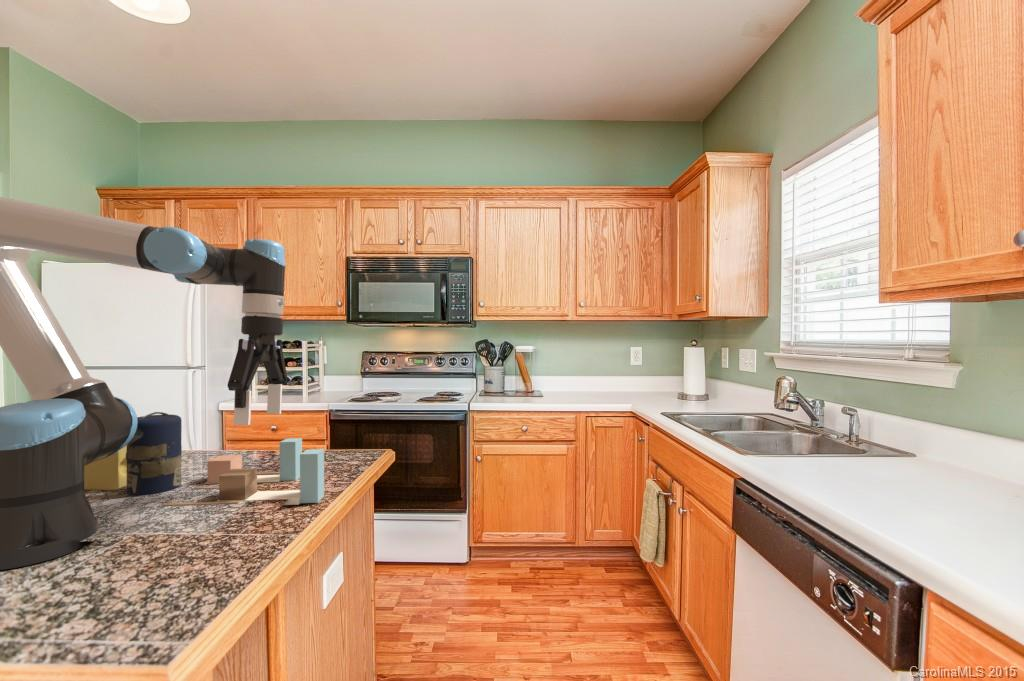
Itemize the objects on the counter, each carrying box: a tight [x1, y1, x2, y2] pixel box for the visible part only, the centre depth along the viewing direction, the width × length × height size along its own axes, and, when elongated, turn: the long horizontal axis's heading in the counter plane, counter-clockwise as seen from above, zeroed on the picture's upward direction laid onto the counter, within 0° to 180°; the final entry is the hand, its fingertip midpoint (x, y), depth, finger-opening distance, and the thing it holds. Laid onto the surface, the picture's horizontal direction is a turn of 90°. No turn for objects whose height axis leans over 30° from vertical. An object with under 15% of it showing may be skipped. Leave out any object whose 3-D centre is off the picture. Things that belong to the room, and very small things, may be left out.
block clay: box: [206, 454, 243, 483], centre depth 106 cm, size 5×5×5 cm
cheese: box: [84, 445, 127, 491], centre depth 108 cm, size 10×11×10 cm
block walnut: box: [218, 467, 258, 501], centre depth 94 cm, size 5×5×5 cm
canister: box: [126, 411, 183, 497], centre depth 100 cm, size 10×10×18 cm
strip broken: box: [204, 437, 303, 485], centre depth 106 cm, size 6×20×10 cm, turn 94°
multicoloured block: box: [216, 448, 325, 506], centre depth 95 cm, size 6×20×10 cm, turn 94°
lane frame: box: [162, 471, 280, 507], centre depth 100 cm, size 21×14×2 cm, turn 4°
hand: (259, 419), depth 95 cm, fingers open, 13 cm apart
